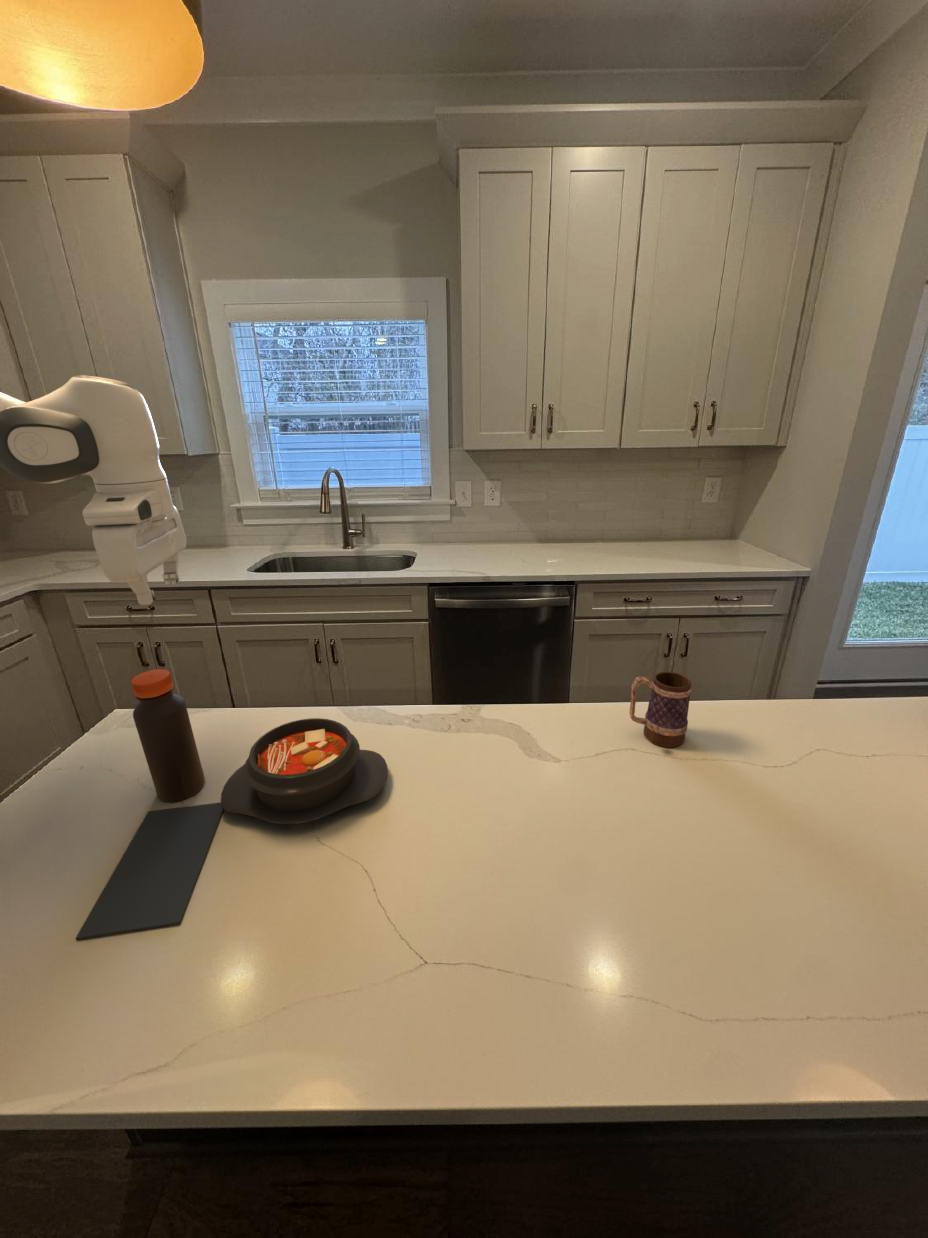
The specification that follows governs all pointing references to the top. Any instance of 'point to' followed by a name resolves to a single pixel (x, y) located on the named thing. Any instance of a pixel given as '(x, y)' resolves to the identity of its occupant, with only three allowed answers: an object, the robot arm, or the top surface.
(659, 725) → the mug
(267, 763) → the casserole
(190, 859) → the mat
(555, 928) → the top surface
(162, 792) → the vinegar
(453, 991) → the top surface
